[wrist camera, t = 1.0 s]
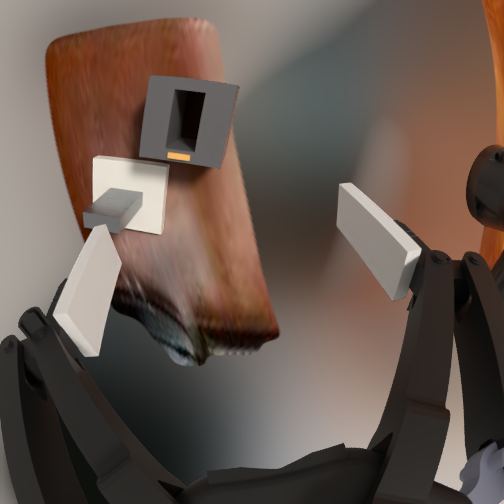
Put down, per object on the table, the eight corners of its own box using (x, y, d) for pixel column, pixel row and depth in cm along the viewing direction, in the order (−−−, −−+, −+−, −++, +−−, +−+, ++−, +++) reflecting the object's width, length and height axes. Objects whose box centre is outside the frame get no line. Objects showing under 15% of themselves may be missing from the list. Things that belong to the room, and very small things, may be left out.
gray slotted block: (239, 87, 30) (237, 85, 24) (225, 154, 34) (219, 169, 28) (168, 77, 29) (149, 75, 22) (157, 144, 33) (138, 157, 27)
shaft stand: (169, 164, 35) (146, 188, 27) (163, 229, 40) (144, 267, 32) (98, 155, 33) (61, 177, 25) (98, 218, 39) (68, 250, 31)
